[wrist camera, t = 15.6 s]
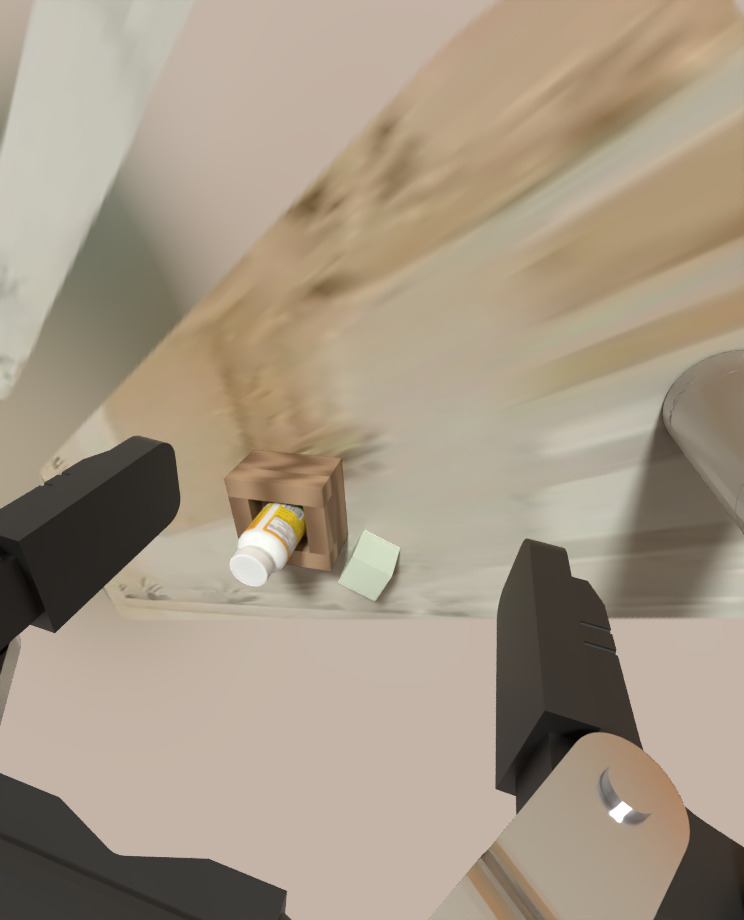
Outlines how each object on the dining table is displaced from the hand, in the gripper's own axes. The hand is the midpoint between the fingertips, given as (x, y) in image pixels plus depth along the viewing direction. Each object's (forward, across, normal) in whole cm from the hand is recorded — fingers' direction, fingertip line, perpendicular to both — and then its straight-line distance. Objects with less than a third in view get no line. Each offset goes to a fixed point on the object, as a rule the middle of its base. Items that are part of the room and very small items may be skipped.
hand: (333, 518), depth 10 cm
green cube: (+33, +3, +32) cm, 46 cm away
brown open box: (+33, +13, +26) cm, 44 cm away
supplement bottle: (+29, +13, +26) cm, 41 cm away
